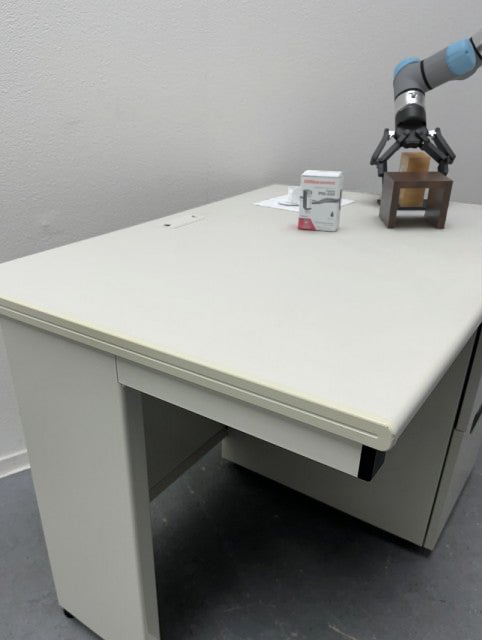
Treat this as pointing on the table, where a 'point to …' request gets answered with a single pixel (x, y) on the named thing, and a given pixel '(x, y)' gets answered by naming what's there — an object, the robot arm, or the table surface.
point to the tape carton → (413, 164)
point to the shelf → (432, 180)
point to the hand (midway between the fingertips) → (413, 187)
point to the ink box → (320, 200)
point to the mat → (409, 207)
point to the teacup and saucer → (290, 200)
